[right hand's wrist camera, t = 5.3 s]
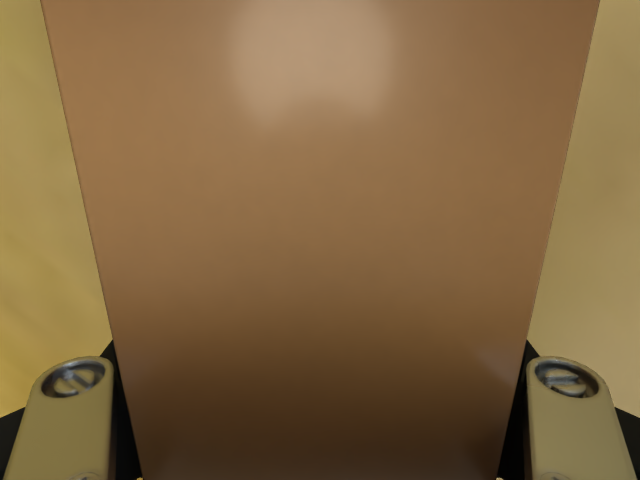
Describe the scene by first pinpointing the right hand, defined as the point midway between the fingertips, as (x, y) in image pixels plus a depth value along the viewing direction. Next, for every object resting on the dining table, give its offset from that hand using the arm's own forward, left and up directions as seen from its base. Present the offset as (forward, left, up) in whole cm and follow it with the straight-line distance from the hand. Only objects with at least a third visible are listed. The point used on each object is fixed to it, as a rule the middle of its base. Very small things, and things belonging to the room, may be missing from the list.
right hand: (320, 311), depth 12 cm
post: (+25, 0, -3) cm, 25 cm away
